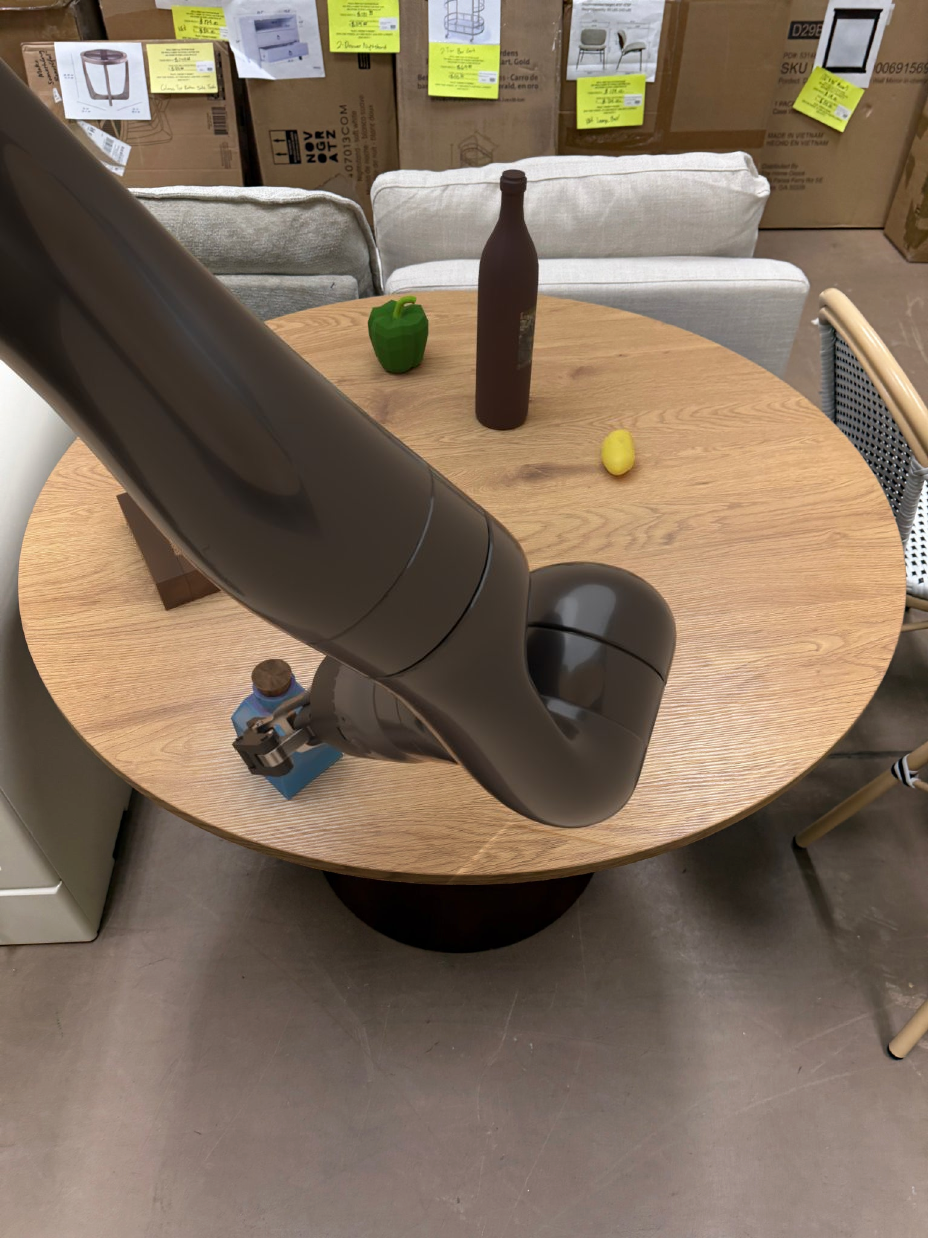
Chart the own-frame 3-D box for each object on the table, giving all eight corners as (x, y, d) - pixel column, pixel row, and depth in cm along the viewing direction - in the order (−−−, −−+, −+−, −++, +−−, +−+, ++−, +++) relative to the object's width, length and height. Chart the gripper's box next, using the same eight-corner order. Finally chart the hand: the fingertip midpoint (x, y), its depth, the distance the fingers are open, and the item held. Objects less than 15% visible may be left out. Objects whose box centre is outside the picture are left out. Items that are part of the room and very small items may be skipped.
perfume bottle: (343, 755, 73) (327, 673, 64) (288, 800, 70) (263, 720, 61) (299, 716, 76) (278, 632, 67) (244, 757, 73) (215, 674, 64)
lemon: (635, 447, 104) (640, 422, 101) (630, 486, 99) (635, 460, 96) (602, 443, 104) (607, 417, 101) (595, 481, 99) (599, 455, 96)
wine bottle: (518, 435, 105) (536, 190, 83) (467, 424, 107) (471, 180, 85) (534, 406, 110) (555, 166, 87) (485, 396, 111) (493, 157, 89)
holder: (165, 610, 84) (155, 583, 81) (126, 522, 93) (115, 495, 90) (307, 558, 90) (302, 531, 87) (257, 480, 99) (251, 453, 96)
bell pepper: (362, 373, 115) (355, 306, 107) (382, 345, 120) (378, 278, 113) (418, 383, 113) (415, 316, 106) (436, 354, 118) (435, 287, 111)
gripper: (452, 579, 50) (351, 607, 64) (260, 713, 43) (193, 712, 57) (511, 681, 51) (399, 687, 65) (334, 826, 44) (251, 798, 58)
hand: (303, 699), depth 61 cm, fingers open, 8 cm apart
